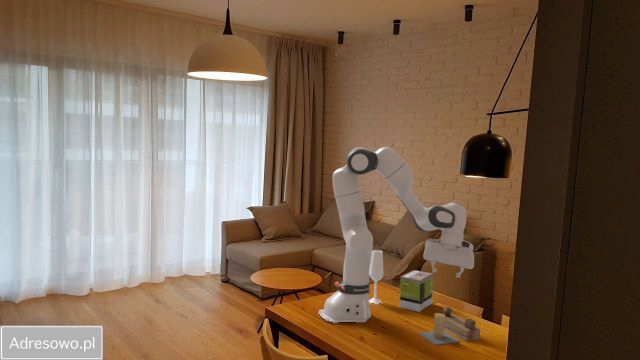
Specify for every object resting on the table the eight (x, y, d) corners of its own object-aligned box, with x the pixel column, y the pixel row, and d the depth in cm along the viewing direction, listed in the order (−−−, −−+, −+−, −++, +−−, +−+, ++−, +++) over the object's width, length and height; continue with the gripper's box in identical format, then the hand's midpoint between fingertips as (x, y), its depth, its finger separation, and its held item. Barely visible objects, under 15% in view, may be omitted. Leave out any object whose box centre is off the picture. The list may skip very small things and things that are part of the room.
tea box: (412, 299, 221) (414, 269, 221) (432, 304, 216) (434, 273, 215) (398, 307, 209) (400, 275, 208) (419, 312, 203) (421, 279, 203)
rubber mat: (435, 345, 169) (435, 344, 169) (418, 333, 179) (418, 332, 179) (459, 341, 173) (459, 340, 173) (441, 330, 183) (441, 329, 183)
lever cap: (443, 339, 174) (444, 317, 173) (433, 337, 175) (434, 315, 174) (443, 335, 177) (445, 314, 176) (434, 334, 178) (435, 312, 178)
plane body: (465, 341, 174) (466, 323, 173) (436, 323, 191) (437, 307, 190) (479, 339, 176) (480, 321, 176) (450, 322, 193) (450, 305, 193)
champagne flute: (364, 300, 217) (367, 250, 215) (376, 298, 220) (378, 249, 219) (373, 305, 211) (375, 253, 210) (385, 303, 215) (387, 252, 213)
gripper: (425, 236, 192) (419, 269, 189) (476, 245, 184) (471, 279, 181) (427, 239, 198) (421, 270, 194) (476, 248, 190) (471, 281, 186)
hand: (445, 275), depth 187 cm, fingers open, 8 cm apart
